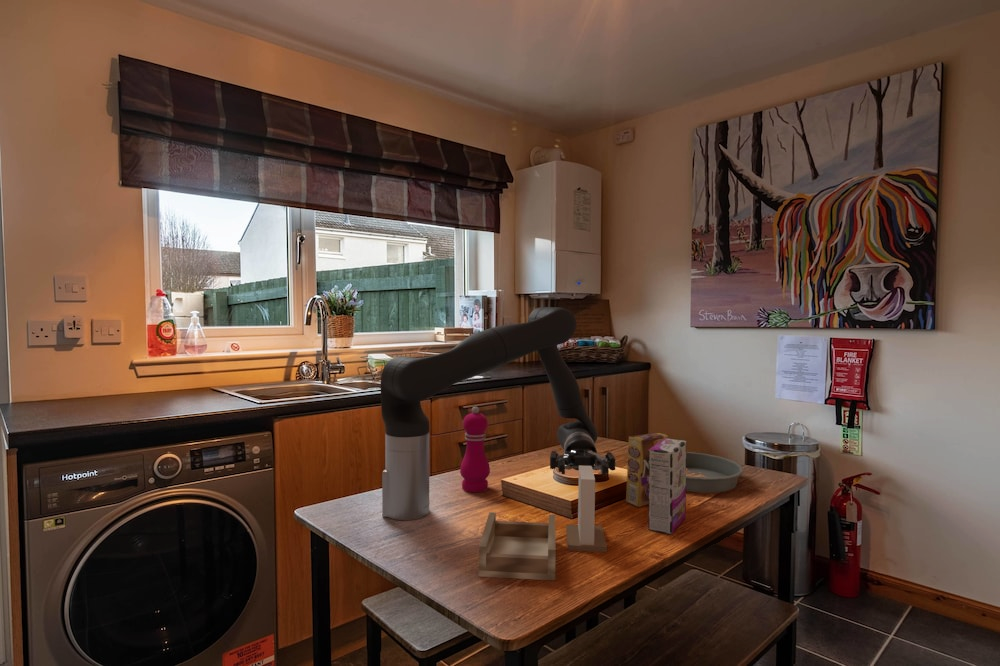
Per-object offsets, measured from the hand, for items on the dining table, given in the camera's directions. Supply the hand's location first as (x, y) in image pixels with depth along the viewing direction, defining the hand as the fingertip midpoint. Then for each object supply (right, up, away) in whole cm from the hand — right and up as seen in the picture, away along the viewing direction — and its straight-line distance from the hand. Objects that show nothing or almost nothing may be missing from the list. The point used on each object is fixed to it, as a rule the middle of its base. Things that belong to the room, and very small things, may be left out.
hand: (583, 470), depth 118 cm
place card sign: (-2, -10, -12) cm, 16 cm away
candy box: (+16, -10, +9) cm, 21 cm away
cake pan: (+32, -9, +26) cm, 42 cm away
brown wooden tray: (-14, -10, -20) cm, 27 cm away
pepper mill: (-24, -9, +18) cm, 31 cm away
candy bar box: (+16, -10, -4) cm, 20 cm away
